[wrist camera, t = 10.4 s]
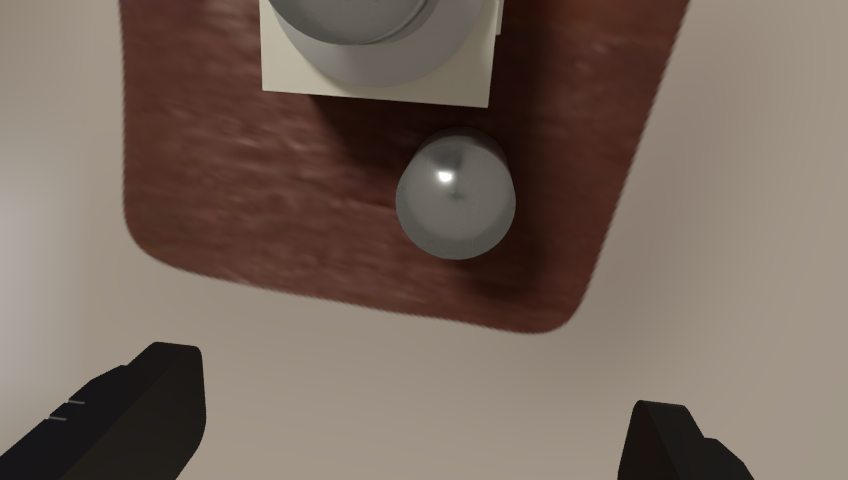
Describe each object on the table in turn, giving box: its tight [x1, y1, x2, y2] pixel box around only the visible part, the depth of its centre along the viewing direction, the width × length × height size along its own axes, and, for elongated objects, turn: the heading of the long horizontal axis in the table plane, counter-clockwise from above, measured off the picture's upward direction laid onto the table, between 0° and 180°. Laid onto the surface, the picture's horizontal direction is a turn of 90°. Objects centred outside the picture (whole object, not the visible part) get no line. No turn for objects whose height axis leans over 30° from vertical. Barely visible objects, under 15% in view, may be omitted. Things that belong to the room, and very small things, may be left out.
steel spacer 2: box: [396, 126, 516, 260], centre depth 25 cm, size 5×5×5 cm
